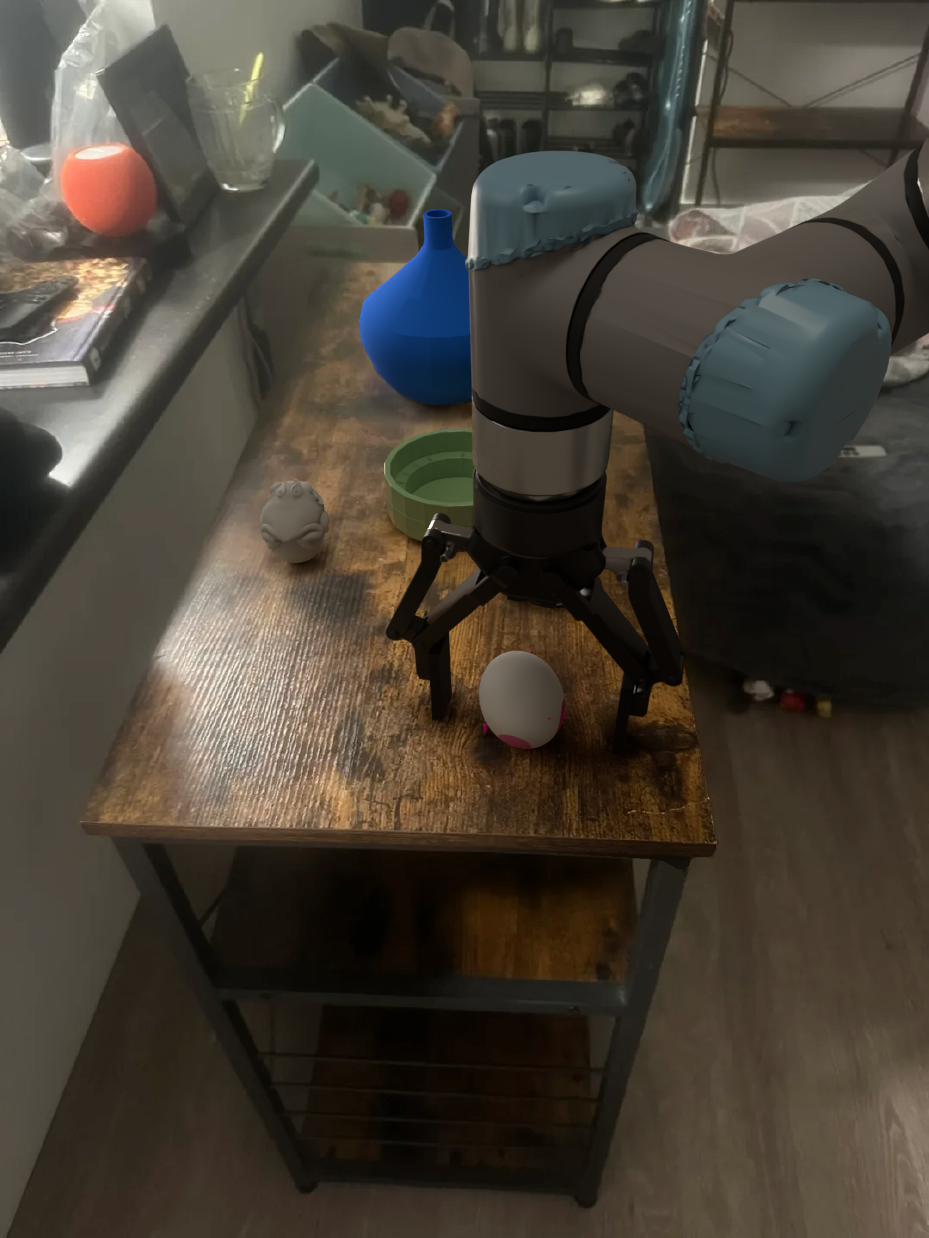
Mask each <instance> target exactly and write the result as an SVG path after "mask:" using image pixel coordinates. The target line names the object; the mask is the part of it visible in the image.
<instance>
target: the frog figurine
mask: <svg viewBox="0 0 929 1238" xmlns="http://www.w3.org/2000/svg"><path fill="white" fill-rule="evenodd" d="M325 509H326V507H325V503H324V499H323V497H322V496H321V495H320V494H319V492H318V491H317V490H315V489H314V488H313V486H312V485H311V483H310V482H309V481H302V480H297V479H296V480H293V479H291V480H287V481H284V482H283V481H277V482H273V484H272V485H271V486H270V487H269V495H268V496H266V498H265V503H263V509H262V511H261V515H260V518H259V531H260V536H261V539H262V540H263V541H264V542H265V544H266V546H267V548H268V549H269V550H271V552H272V553H273V554H274V555H275V557H277V558H278V559H280V560H282V561H284V562H287V563H291V564H299V563H300V564H301V563H304V562H307V561H309V560H311V559H313V558H314V557H315V556H316V555H317V554H318V553H319V552H320V550H321V549H322V546H323V545H324V541H325V536H326V534H327V533H328V532H329V528H330V527H329V525H330V522H331V521H330V515H329V513H328V512H327V511H326V510H325Z"/></svg>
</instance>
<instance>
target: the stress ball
mask: <svg viewBox="0 0 929 1238" xmlns="http://www.w3.org/2000/svg"><path fill="white" fill-rule="evenodd" d="M533 652H534V648H532V651H531V652H528V651H525V650H509V651H506V652H503V653H501V654H499V655H497V656H496V657H494V658H493V659H492V660H491V661H490V662H489V663H488V665H487V666H486V667H485V669H484V671H483V673H482V675H481V678H480V681H479V686H478V701H479V706H480V711H481V714H482V716H483V719H484V721H485V723H484V722H483V724H482V726H483V731H484V735H486V734H487V732H488V730H489V729H490V731H491V732H492V733H493V734H494V735H495V736H496V737H497V738H498V739H500V740H501V741H502V742H503V743H505V744H508V745H509V746H511V747H513V748H517V749H522V750H529V749H530V750H531V749H536V748H540V747H542V746H544V745H546V744H547V743H549V742H550V741H552V739H553V738H555V736H556V735H557V733H558V732H559V731H560V728H561V726H562V723H563V721H564V719H571V718H573V716H565V712H566V711H565V709H566V702H565V701H566V700H565V693H564V690H563V687H562V684H561V681H560V679H559V678H558V676H557V674H556V672H555V671H554V670H553V668H552V667H551V666H550V665H549V664H548V662H546V661H545V660H543V659H542V658H540V657H539V656H537V655H535V654H533Z"/></svg>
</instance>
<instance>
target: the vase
mask: <svg viewBox="0 0 929 1238" xmlns="http://www.w3.org/2000/svg"><path fill="white" fill-rule="evenodd" d="M422 216H423V233H424V240H423V244H422V246H421V248H420V249H419V251H418V252H417V254H416V255H414V257H413V258H411V259H410V260H409V261H408V262H407V263H405V264H404V265H403V266H402V267H401V268H400V269H398V270H397V272H395V273H394V274H393V275H392V276H391V277H390V278H388V279H387V280H386V281H384V282H383V283H382V284H381V285H379V286H378V287H377V288H376V289H374V290H373V291H372V292H371V293H369V295H367V297H366V298H365V300H364V301H363V303H362V307H361V310H360V314H359V320H358V327H359V335H360V343H361V344H362V346H363V349H364V351H365V353H366V355H367V356H368V358H369V360H370V362H371V364H372V365H373V367H374V370H375V371H376V373H377V375H378V376H379V377H380V378H382V379H383V380H384V382H386V383H387V385H388V386H389V387H391V388H392V389H393V390H394V391H396V393H398V394H399V395H401V396H404V397H405V398H407V399H409V400H411V401H414V402H415V403H419V404H423V405H426V406H436V407H445V406H446V407H447V406H449V407H450V406H456V405H463V404H466V403H469V402H472V373H471V336H470V299H469V270H467V269H466V260H467V258H468V256H466V255H464V253H462V252H461V250H460V249H459V248H458V247H457V245H456V244H455V242H454V237H453V236H454V235H453V212H452V211H451V210H448V209H444V208H435V209H427V210H425V211H424V212H423V215H422Z"/></svg>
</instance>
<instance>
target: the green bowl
mask: <svg viewBox="0 0 929 1238" xmlns="http://www.w3.org/2000/svg"><path fill="white" fill-rule="evenodd" d="M474 468H475V467H474V465H473V460H472V428H463V427H462V428H461V427H459V428H442V429H437V430H436V429H435V430H432V431H428V432H423V433H419V434H418V435H416V436H413V437H411V438H408V439H406V440H404V441H402V442H401V443H400V444H398V445H397V446H396V447H395V448H393V449H392V450H391V451H390V452H389V454H388V456H387V458H386V459H385V460H384V463H383V478H384V488H385V498H386V510H387V515H388V517H389V519H390V521H391V523H392V524H393V525H394V527H395V528H397V530H399V531H400V532H401V533H403V534H404V535H406V536H407V537H408V538H411V539H413V540H416V541H419V542H421V543H422V539H423V537H424V534H425V532H426V530H427V528H428V526H429V524H430V522H431V520H432V518H433V516H434V515H435V514H437V513H443V514H446V515H447V516H448V517H449V518H450V519H451V525H456V526H461V527H466V528H472V527H473V526H474V518H473V471H474Z"/></svg>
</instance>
